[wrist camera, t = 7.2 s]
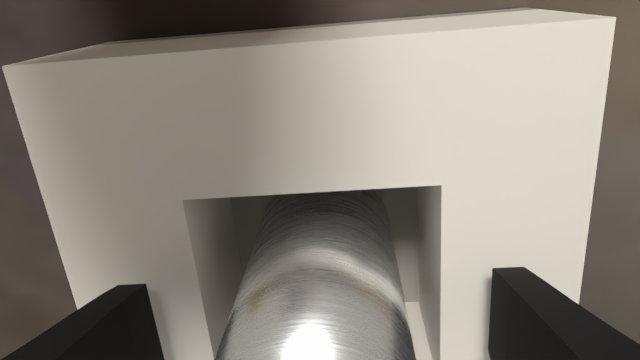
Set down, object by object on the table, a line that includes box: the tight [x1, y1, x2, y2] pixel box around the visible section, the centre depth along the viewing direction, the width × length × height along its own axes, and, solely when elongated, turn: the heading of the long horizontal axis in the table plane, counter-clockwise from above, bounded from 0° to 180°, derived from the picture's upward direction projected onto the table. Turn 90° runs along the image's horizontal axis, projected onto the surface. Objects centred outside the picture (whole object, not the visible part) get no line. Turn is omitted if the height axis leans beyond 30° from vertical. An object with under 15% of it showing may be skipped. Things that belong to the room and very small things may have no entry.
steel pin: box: [215, 189, 416, 360], centre depth 11 cm, size 4×4×7 cm
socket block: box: [2, 8, 616, 360], centre depth 13 cm, size 11×11×4 cm
